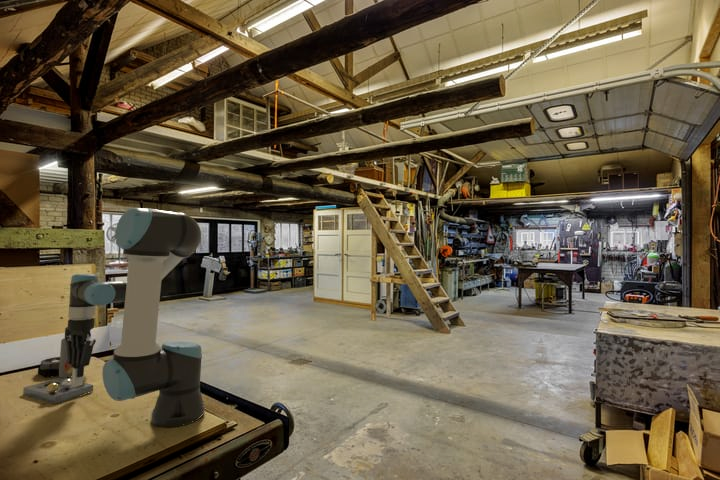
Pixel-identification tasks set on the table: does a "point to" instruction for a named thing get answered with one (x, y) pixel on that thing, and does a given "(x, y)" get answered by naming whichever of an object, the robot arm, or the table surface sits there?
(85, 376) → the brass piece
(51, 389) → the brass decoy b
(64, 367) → the lotion bottle
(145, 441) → the table surface
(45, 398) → the bearing plate
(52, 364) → the cpu cooler
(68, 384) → the steel ball
